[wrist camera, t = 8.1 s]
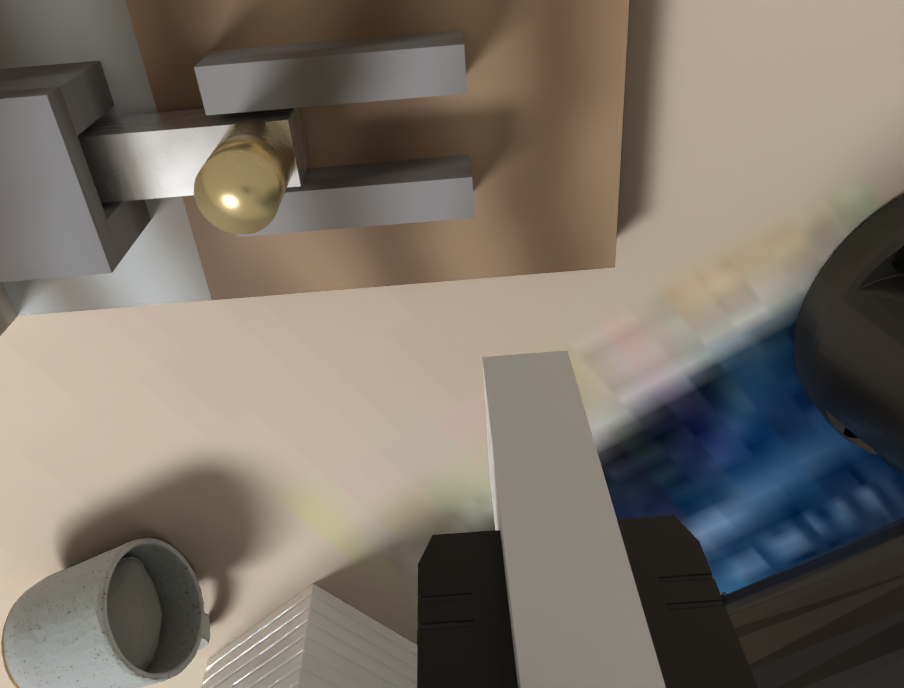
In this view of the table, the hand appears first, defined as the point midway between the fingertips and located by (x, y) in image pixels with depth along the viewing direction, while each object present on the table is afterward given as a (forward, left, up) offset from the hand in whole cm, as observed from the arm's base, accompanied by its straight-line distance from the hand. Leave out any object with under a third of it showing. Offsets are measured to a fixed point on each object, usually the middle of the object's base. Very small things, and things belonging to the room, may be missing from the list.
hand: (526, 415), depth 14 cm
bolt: (+12, 0, -18) cm, 21 cm away
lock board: (+8, 0, -20) cm, 21 cm away
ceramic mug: (+21, +27, -20) cm, 40 cm away
